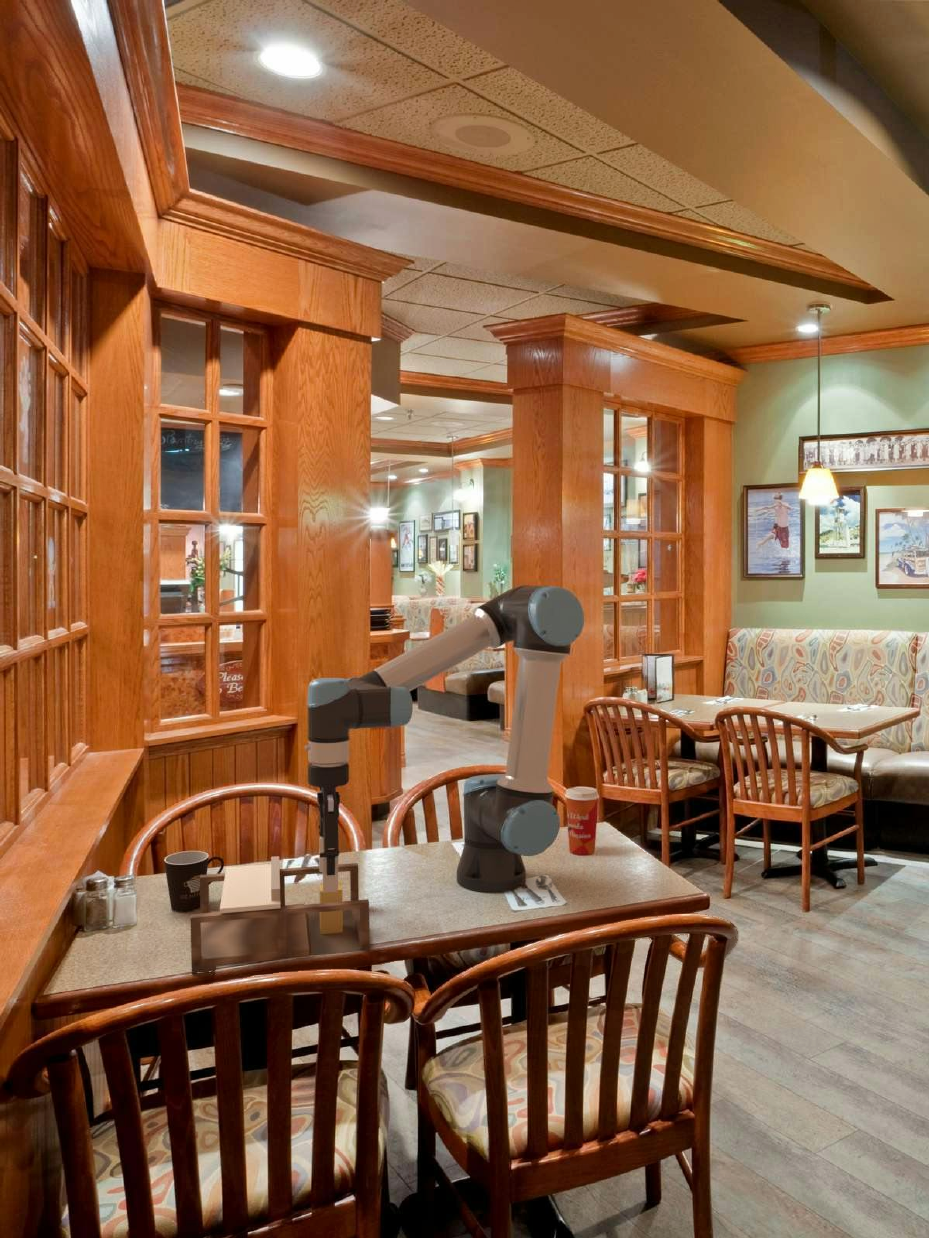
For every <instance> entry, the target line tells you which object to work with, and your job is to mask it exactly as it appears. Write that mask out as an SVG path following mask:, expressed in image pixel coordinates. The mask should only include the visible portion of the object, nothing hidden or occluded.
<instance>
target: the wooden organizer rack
mask: <svg viewBox="0 0 929 1238" xmlns="http://www.w3.org/2000/svg"><path fill="white" fill-rule="evenodd" d="M279 870H280V908H278V909H266V910H255V911H243V912H231V913H220V910H215V911H210V885H209V882H212V883H218V882H224V879H225V872H221V873H220V874H217V873H213V874H210V873H209V874H208V873H207V875H200V906H201V908H200V913H194V914H192V913H191V914H190V917H189V919H190V920H189V921H190V953H191V961H190V962H191V963H190V964H191V974H192V975H194V974H193V973H197V972H209V971H215V972H216V969H217V966H221V965H223V966H224V965H232V964H240V963H241V964H242V963H253V962H262V961H263V962H264V961H271V960H272V961H273V960H282V959H291V958H292V959H294V958H302V957H305V958H306V957H315V956H323V955H333V954H335V955H336V954H346V953H355V952H363V951H365V952H366V951H370V949H371V947H370V946H371V944H370V943H371V940H370V939H371V938H370V937H371V936H370V932H371V931H370V902H369V901H370V900H369V898H367V899H360V898H359V897H360V893H359V889H360V888H359V887H360V886H359V863H358V862H353V863H341V864H340V863H338V873H343V872H349V878H350V879H349V885H350V886H349V889H350V894H349V895H350V896H349V898H350V900H346V901H345V900H342V902H330V903H319V902H318V903H309V904H305V903H297V904H286V892H285V891H286V889H285V887H286V885H285V883H286V882H285V881H286V880H285V879H286V878H285V877H291V876H293V877H294V876H304V875H316V874H323V872H319V865H314V866H303V867H302V866H301V867H289V868H287V867H286V868H279ZM340 910H343V932H340V933H329V934H321V931H320V912H329V911H340ZM209 973H210V972H209Z"/></svg>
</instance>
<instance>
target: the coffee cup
mask: <svg viewBox="0 0 929 1238" xmlns="http://www.w3.org/2000/svg"><path fill="white" fill-rule="evenodd" d="M565 792H566V793H564V796H565V800H566V815H567V817H566V818H567V819H566V820H567V831H568V832H567V834H568V835H567V837H568V847H569V848H568V849H569V852H570V854H572V855H575V856H582V857H585V856H591V855H594V854H595V850H596V839H597V837H596V836H597V821H598V819H597V818H598V807H599V806H598V803H599V799H600V794H599V793H598V789H597V788H595V787H589V786H574V787H569V788H567V789H566V791H565Z"/></svg>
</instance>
